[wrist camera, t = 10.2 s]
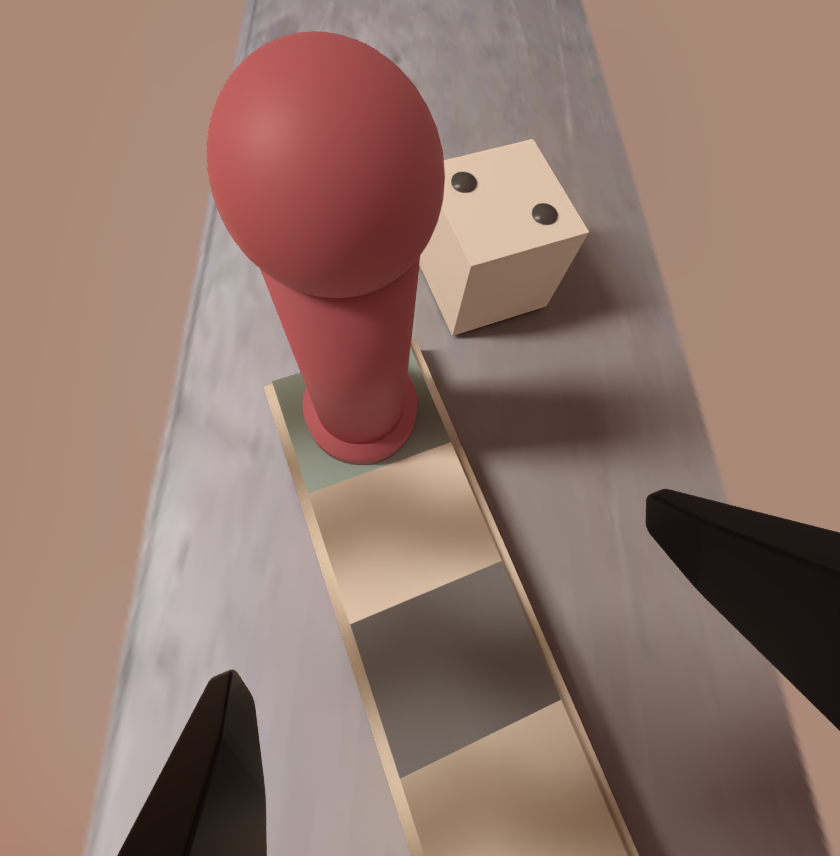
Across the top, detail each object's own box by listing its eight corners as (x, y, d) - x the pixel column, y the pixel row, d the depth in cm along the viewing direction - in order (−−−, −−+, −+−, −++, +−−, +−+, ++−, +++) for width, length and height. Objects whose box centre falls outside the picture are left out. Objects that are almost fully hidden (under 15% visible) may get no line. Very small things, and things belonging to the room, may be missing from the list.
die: (546, 306, 23) (589, 230, 18) (452, 336, 22) (471, 265, 17) (503, 225, 24) (532, 136, 19) (413, 250, 23) (420, 163, 18)
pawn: (431, 443, 19) (529, 141, 6) (326, 480, 18) (187, 223, 5) (393, 352, 20) (408, -61, 7) (293, 383, 19) (115, -19, 7)
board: (705, 1025, 14) (727, 1055, 14) (509, 1157, 13) (519, 1201, 12) (414, 347, 21) (415, 336, 20) (268, 394, 20) (262, 384, 19)
